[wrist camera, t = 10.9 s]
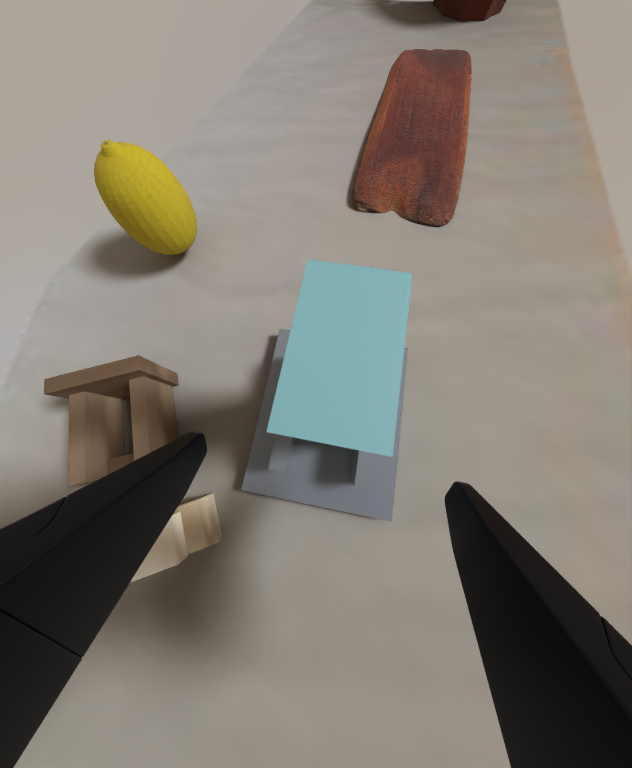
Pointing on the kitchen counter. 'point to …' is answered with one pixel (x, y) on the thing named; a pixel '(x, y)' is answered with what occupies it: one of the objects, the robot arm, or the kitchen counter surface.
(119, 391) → the stand
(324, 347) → the teal rectangular block
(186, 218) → the lemon
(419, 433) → the kitchen counter surface
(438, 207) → the wooden tablet
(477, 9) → the muffin
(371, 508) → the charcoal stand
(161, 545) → the offcut stack
